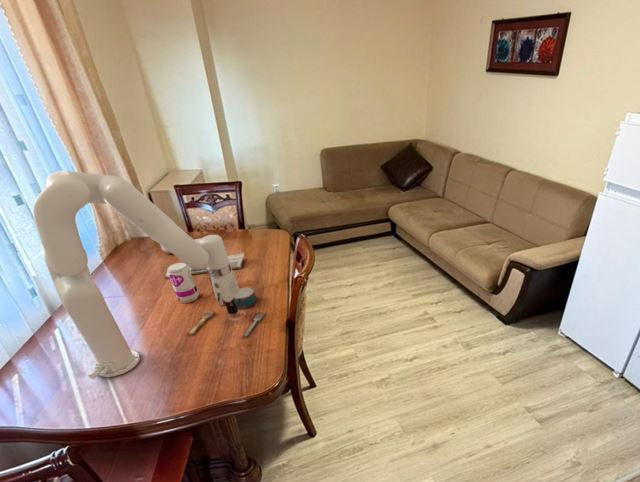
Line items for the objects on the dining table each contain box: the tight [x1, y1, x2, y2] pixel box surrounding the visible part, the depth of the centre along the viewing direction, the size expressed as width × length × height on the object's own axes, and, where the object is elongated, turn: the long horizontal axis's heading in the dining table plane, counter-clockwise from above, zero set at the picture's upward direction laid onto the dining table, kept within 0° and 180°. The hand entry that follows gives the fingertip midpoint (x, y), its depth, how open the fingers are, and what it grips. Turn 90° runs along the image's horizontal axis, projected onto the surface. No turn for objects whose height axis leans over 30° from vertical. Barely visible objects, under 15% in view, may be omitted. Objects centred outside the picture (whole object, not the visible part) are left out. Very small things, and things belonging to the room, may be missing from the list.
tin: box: [235, 287, 257, 310], centre depth 156 cm, size 9×9×5 cm
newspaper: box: [165, 252, 245, 279], centre depth 187 cm, size 35×12×4 cm, turn 101°
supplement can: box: [166, 262, 200, 304], centre depth 159 cm, size 8×8×15 cm
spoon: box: [188, 310, 215, 336], centre depth 146 cm, size 14×4×1 cm, turn 172°
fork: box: [243, 313, 265, 338], centre depth 143 cm, size 14×3×1 cm, turn 172°
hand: (233, 312), depth 149 cm, fingers closed
